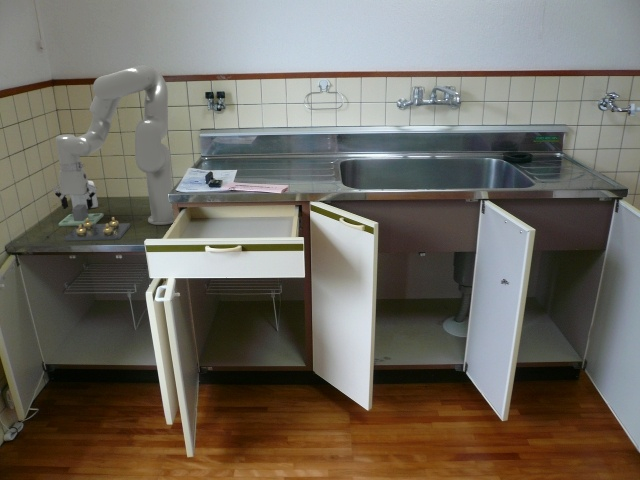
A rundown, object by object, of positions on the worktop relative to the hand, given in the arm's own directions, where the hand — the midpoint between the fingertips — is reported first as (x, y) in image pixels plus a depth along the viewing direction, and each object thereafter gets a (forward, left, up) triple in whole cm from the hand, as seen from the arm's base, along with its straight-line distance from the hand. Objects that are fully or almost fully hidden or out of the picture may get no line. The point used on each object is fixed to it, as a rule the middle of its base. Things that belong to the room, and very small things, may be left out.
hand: (78, 207), depth 215 cm
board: (-1, 0, -6) cm, 6 cm away
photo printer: (+3, -16, -6) cm, 17 cm away
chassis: (-13, +15, -6) cm, 20 cm away
